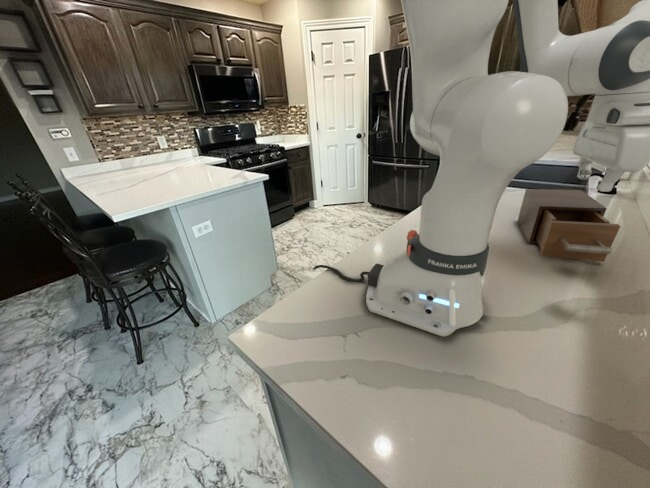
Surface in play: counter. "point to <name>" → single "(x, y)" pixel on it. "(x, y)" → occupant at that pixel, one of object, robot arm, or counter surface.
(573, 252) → the drawer
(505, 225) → the counter surface
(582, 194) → the cabinet
